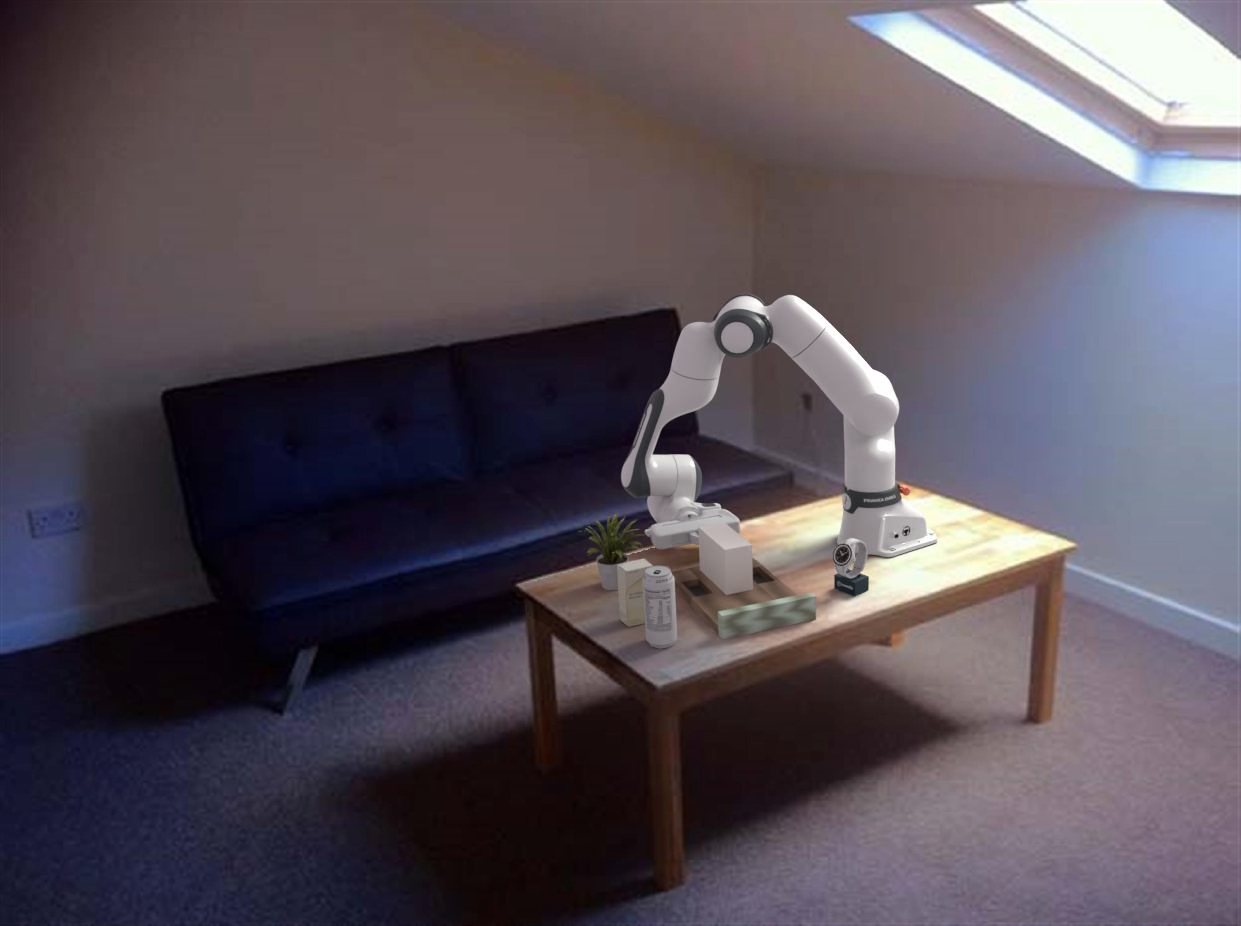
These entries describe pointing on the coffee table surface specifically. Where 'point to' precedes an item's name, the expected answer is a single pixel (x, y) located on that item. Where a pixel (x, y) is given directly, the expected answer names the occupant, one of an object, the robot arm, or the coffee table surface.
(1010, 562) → the coffee table surface
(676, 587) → the wooden tray
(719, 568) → the block
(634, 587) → the skincare box
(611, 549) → the house plant
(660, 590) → the energy drink can
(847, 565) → the watch
